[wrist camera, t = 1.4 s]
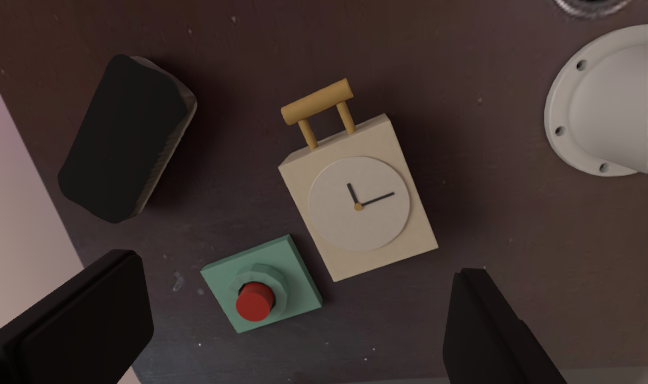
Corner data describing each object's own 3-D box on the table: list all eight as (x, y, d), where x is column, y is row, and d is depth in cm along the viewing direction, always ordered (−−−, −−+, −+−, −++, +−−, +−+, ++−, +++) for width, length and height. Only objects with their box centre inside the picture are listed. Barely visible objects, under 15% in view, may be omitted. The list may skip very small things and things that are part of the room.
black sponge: (142, 219, 38) (121, 233, 35) (75, 175, 38) (46, 185, 34) (211, 96, 33) (194, 98, 30) (135, 42, 32) (109, 38, 29)
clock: (367, 68, 31) (369, 66, 25) (426, 222, 35) (440, 250, 29) (270, 113, 33) (252, 120, 27) (337, 253, 37) (333, 285, 32)
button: (264, 277, 36) (259, 288, 34) (279, 304, 37) (275, 316, 35) (235, 287, 37) (229, 298, 35) (251, 313, 38) (245, 325, 36)
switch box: (289, 233, 37) (283, 246, 35) (323, 299, 40) (320, 316, 37) (205, 265, 40) (193, 279, 37) (241, 325, 42) (233, 343, 39)
